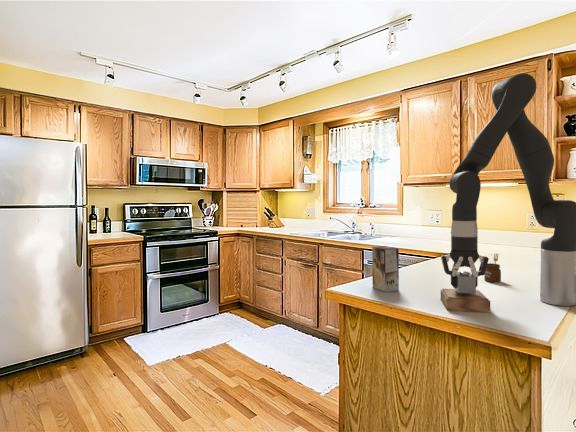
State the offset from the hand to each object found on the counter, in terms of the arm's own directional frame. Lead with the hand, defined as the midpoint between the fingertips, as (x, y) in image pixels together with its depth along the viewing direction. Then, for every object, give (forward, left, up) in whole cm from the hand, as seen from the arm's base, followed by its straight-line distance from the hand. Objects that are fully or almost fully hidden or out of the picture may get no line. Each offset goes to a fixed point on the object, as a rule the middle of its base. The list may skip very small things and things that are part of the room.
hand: (464, 287), depth 113 cm
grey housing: (0, 0, -1) cm, 1 cm away
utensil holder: (-19, -39, -6) cm, 44 cm away
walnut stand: (0, 0, -6) cm, 6 cm away
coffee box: (+24, -18, -6) cm, 31 cm away
